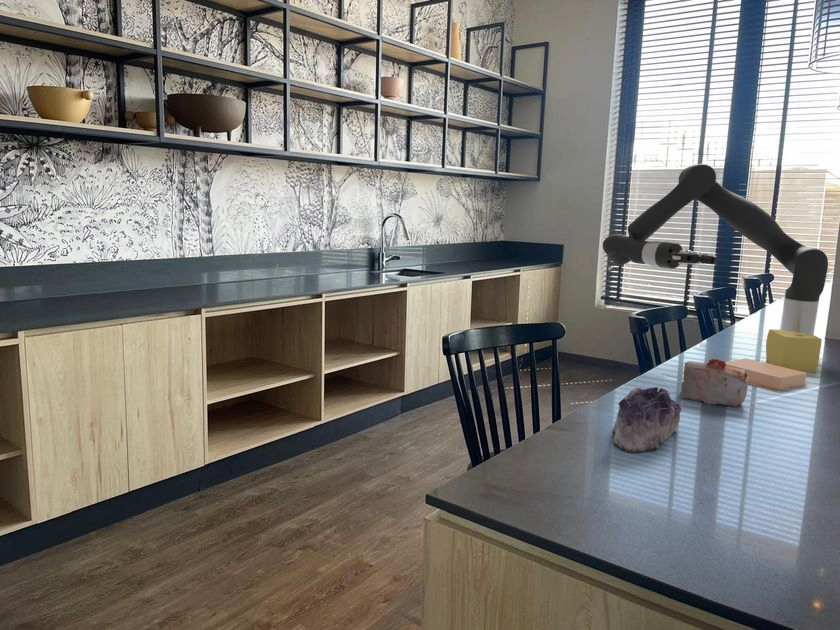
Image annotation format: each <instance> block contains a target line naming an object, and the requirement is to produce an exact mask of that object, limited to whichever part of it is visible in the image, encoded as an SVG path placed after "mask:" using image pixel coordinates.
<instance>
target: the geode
mask: <svg viewBox="0 0 840 630" xmlns="http://www.w3.org/2000/svg"><path fill="white" fill-rule="evenodd" d="M617 404H618V412H617V414H616V420H615V422H614V425H613V428H612V430H611V434H612V435H614V437H613V447H615V448H617V449H619V450H621V451H622V452H624V453H625V452H626V453H627V454H643V453H652V452H656V451H657V450H658V449H659V448H660V447H661V446H662V445H663V444H664V443H665V442H666V441H667V440H668V439H670V438H671V436H672V435H673V434H674V433H675V431H676V429H677V428H679V427H678V426H679V423H680V420H681V416H680V414H681V412H682V407H681V406H680V404H679V403H678V402H676V401H675V400H673V399H672V398H671V396H670V392H668V390H667V389H665V388H663V387H660V388H659V387H656V386H655V387H648V388H639V387H635V388H633V389H632V390H630V391H629V393H628V394H627V395H626V396H624V397H623V398H622V399H621V400H620V401H619V402H618V403H617Z"/></svg>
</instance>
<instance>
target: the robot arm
mask: <svg viewBox="0 0 840 630" xmlns="http://www.w3.org/2000/svg"><path fill="white" fill-rule="evenodd" d="M716 180H717V173H716V171H715V169H714V168H713V167H712V166H711V165H708V164H706V163H697V164H692V165H689V166H688V167H686V168H684V169H683V170H682V171H681V172H680V174H679V175H678V184H677V185H676V186H675V187H674V188H672V190H670V191H669V192H668V193H667V194H666V195H665V196H663V197H662V198H661V199H659V200H658V201H656V202H655V203H654V204H653V205H651V206H650V207H648V208H647V209H646V210H645V211H644V212H642V213H641V214H640V215H639V216H638V217H637V218H635V219H634V220H633V221H632V222H631V223H630V224H629V225H627V229H626V230H627V233H628V235H624V234H619V233H615V234H611V235H609V236H607V237H605V239H604V240H603V241H602V250H603V252H604V253H605V254H606V255H607V257H608V258H609V259H610V260H611V262H612V263H613V264H615V265H617V266H624V265H626V264H628V263H629V262H632V263H635V264H639V265H647V266H650V267H655V268H664V269H671V270H673V269H677V268H678V267H679V266H680V265H700V264H702V265H704V264H706V265H717V264H718V261H719V260H718V256H717V255H709V254H708V253H702V252H701V251H700V252H699V251H692V250H690V249H683V247H682V245H681V244H680V243H678V242H671V241H670V242H668V241H658V240H657V241H656V240H655V241H648V239H649V238H651V236H652V235H653V234H655V233H656V232H657V231H658V230H659V229H660V228H661V227H662V226H663V225H664V224H666V223H667V222H668V221H669V220H671V218H672V217H674V216H675V215H676V214H677V213H678V212H679V211H681V210H682V209H684V208H685V207H686V206H687V205H689V204H690V203H691V202H693V201H694V200H696V201H697V202H700V203H701V204H703V205H704V206H706V207H707V208H709V209H711V210H712V211H713V212H714V213H715V214H716V215H717V216H718V217H719V218H721V219H722V220H723V221H725V223H727V224H728V225H729V226H730V227H732V228H733V229H734V230H735V231H736V232H738V233H740V234H741V235H742V236H743V237H745V238H746V239H747V240H750V242H752V243H754V244H755V245H756V246H758V247H759V248H761V249H763V250H765V251H767V252H768V253H769V254H770V255H772V257H774V258H775V259H776V260H777V261H778V262H779V263H780V264H781V265H782V266H783V267H784V268H785V269H787V271H789V272H790V273H791V274H792V279H791V283H790V286H789V287H788V288H786V289H785V293H784V299H783V305H782V306H783V307H782V314H781V322H780V327H779V330H784V331H792V332H796V333H802V334H811V335H814V336H815V329H816V322H817V321H816V320H817V316H818V315H817V314H818V309H819V304H820V303H819V301H820V297H821V295H822V293H823V291H824V289H825V284H826V279H827V274H828V269H829V258H828V256H827V255H826V253H825V252H824V251H822V250H821V249H819V248H816V247H815V248H814V247H808V246H806V245H804V244H802V243H800V242H798V241H797V240H795V239H794V238H792V237H791V236H789V235H788V234H787V233H786V232H785V231H784V230H783V229H782V228H781V226H780V225H779V224H778V223H777V221H776V220H775V219H774V217H772V215H770V214H769V213H768V212H766V211H765V210H764V209H763V208H761V207H760V206H758V205H757V204H756V203H754V202H753V201H752V200H749V199H748V198H745V197H743V196H741V195H739V194H737V193H734V192H732V191H730V190H728V189H727V188H725V187H724V186H722V185H721V184H720V183H718V182H717V181H716Z"/></svg>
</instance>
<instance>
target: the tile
mask: <svg viewBox="0 0 840 630" xmlns="http://www.w3.org/2000/svg"><path fill="white" fill-rule="evenodd" d="M724 362H725V363H726V366H725V367H731V368H738V369H745V370H746V371H747V375H748V379H749V381H748V382H752V383H756V384H759V385H763V386H767V387H771V388H774V389H778V390H781V391H783V390H782V389H785V390H787V389H786V388H790V387H794V388H796V387H795V386H799V385H803V386H805V385H804V384H805V383H806V379H807V374H808V373H807V371H802V370H793V369H789V368H785V367H780V366H776V365H773V364H771V363H769V362H763V361H759V360H755V359H750V358H739V359H735V360H728V361H724ZM799 387H800V386H799ZM790 389H791V388H790Z"/></svg>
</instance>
